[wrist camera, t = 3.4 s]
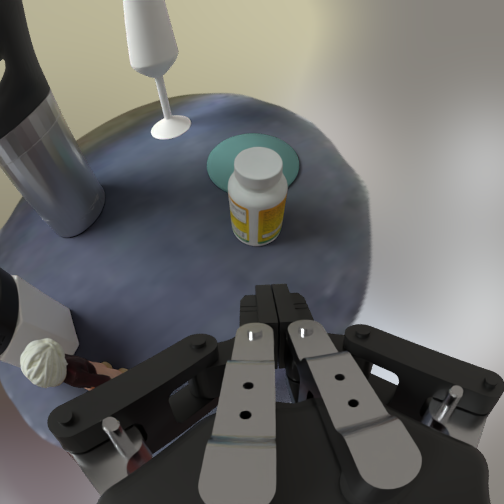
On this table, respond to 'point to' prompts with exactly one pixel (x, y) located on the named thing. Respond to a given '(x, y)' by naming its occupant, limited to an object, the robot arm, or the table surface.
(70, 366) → the grandmother figurine
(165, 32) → the champagne flute
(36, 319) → the jar
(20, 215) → the table surface
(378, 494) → the robot arm
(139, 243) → the table surface
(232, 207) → the supplement bottle
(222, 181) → the mat
